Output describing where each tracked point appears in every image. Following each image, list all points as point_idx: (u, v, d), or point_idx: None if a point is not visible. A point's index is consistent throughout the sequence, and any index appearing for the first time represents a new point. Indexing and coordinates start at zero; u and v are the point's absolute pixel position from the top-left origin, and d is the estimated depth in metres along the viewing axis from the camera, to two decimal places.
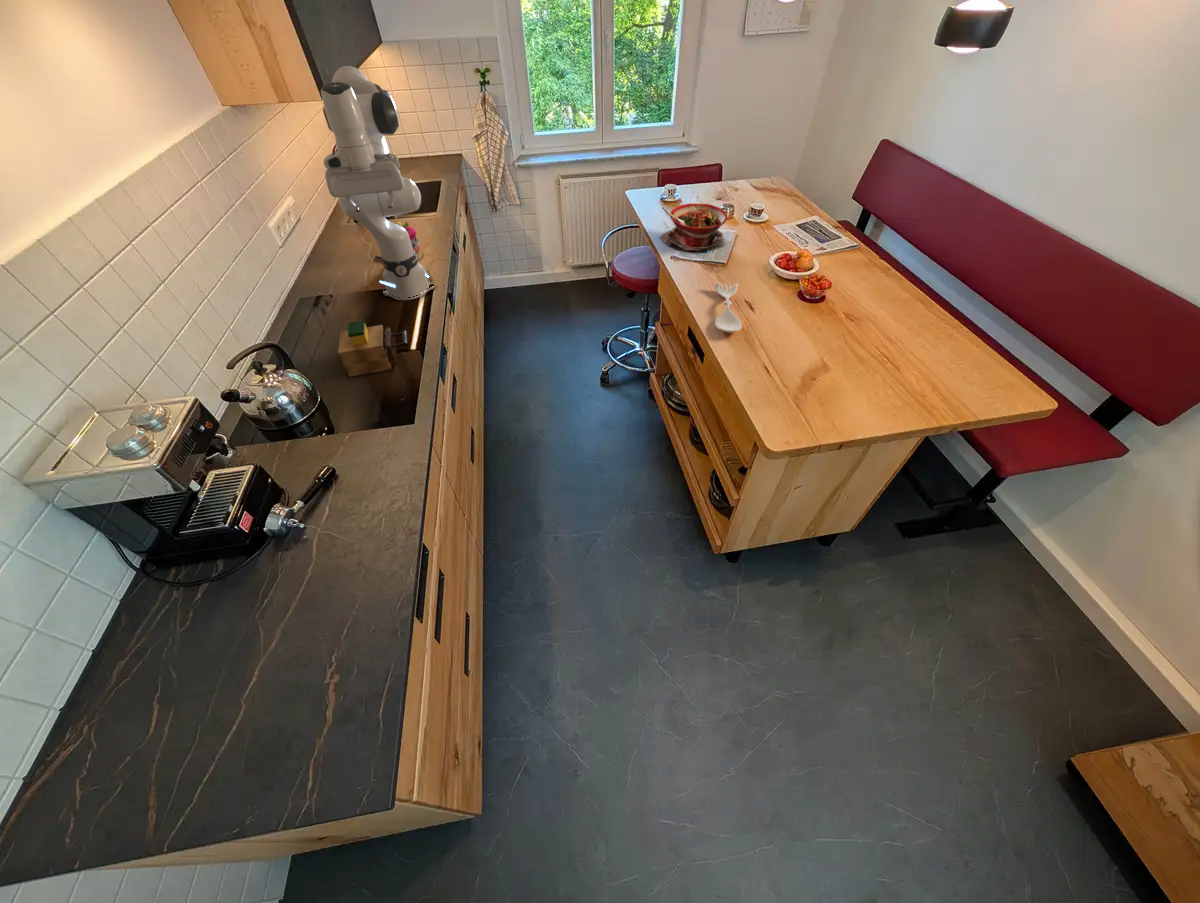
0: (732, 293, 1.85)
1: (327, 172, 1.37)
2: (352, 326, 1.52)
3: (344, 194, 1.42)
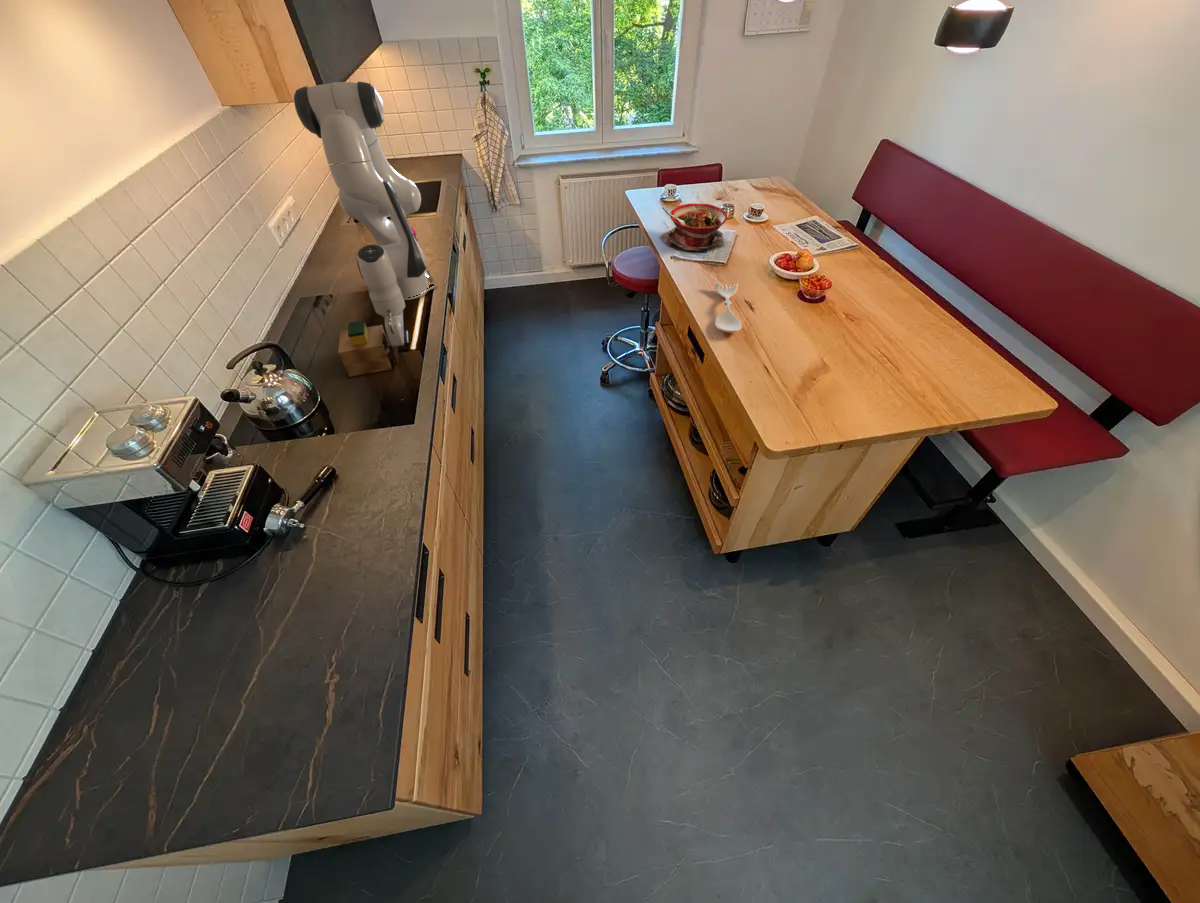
0: (732, 293, 1.85)
1: None
2: (352, 326, 1.52)
3: None
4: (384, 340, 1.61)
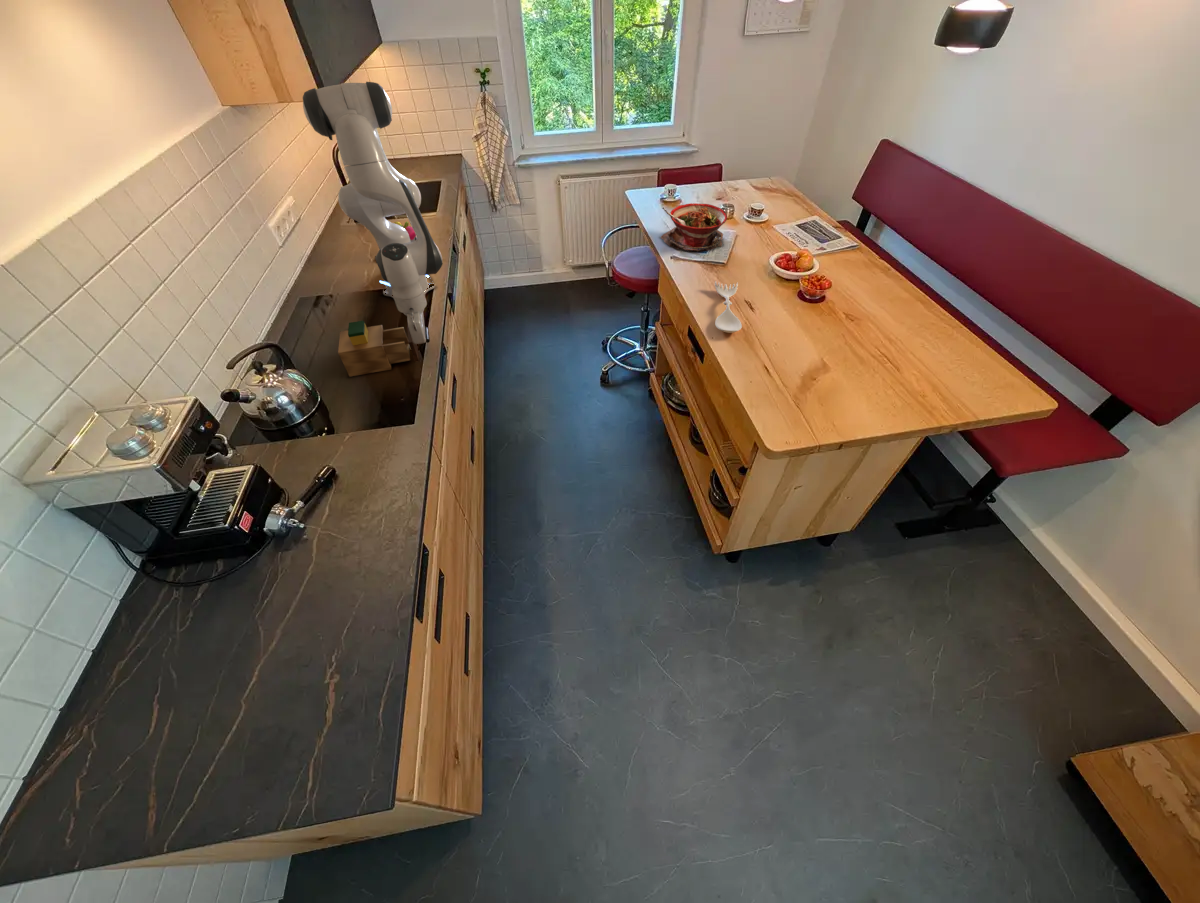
0: (732, 293, 1.85)
1: None
2: (352, 326, 1.52)
3: None
4: (404, 337, 1.62)
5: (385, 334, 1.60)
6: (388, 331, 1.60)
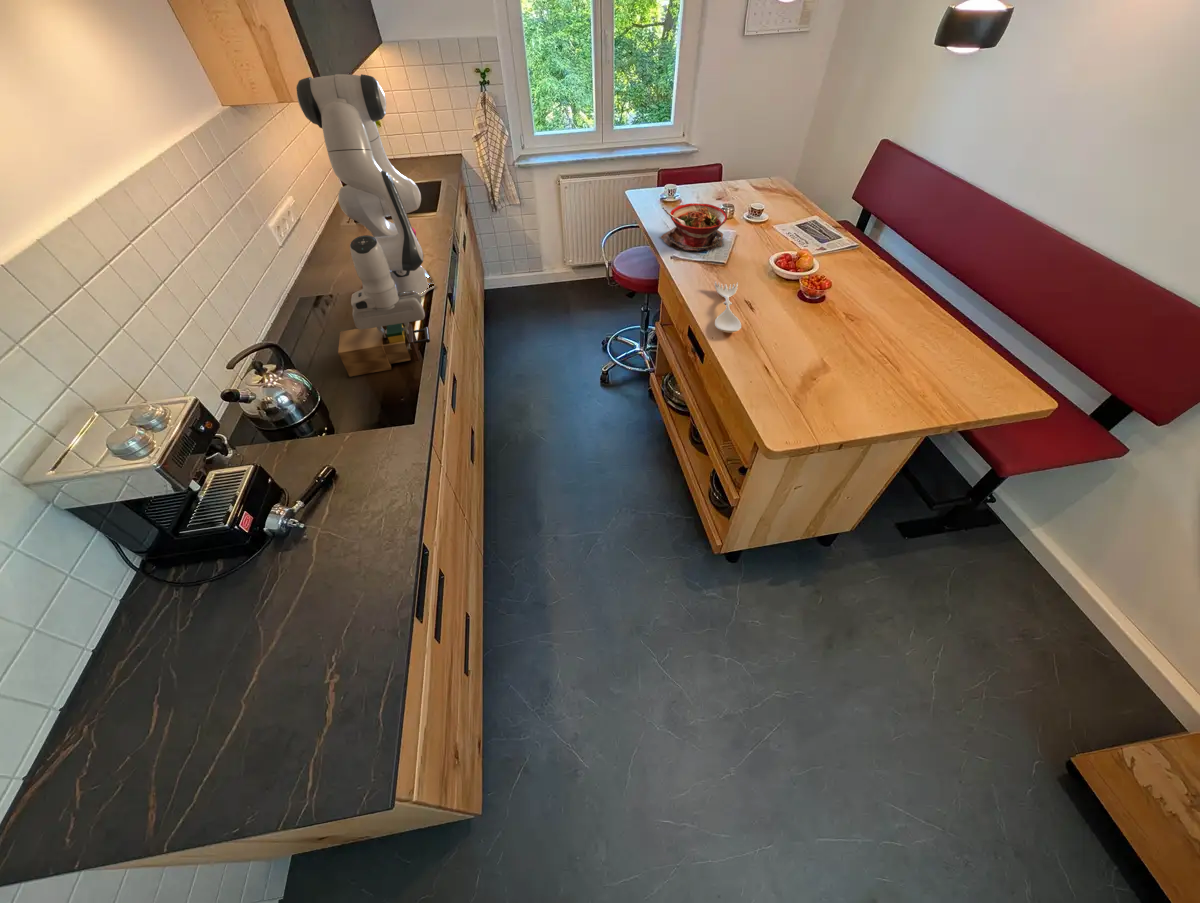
0: (732, 293, 1.85)
1: (354, 312, 1.46)
2: (390, 326, 1.55)
3: (369, 327, 1.51)
4: None
5: None
6: None
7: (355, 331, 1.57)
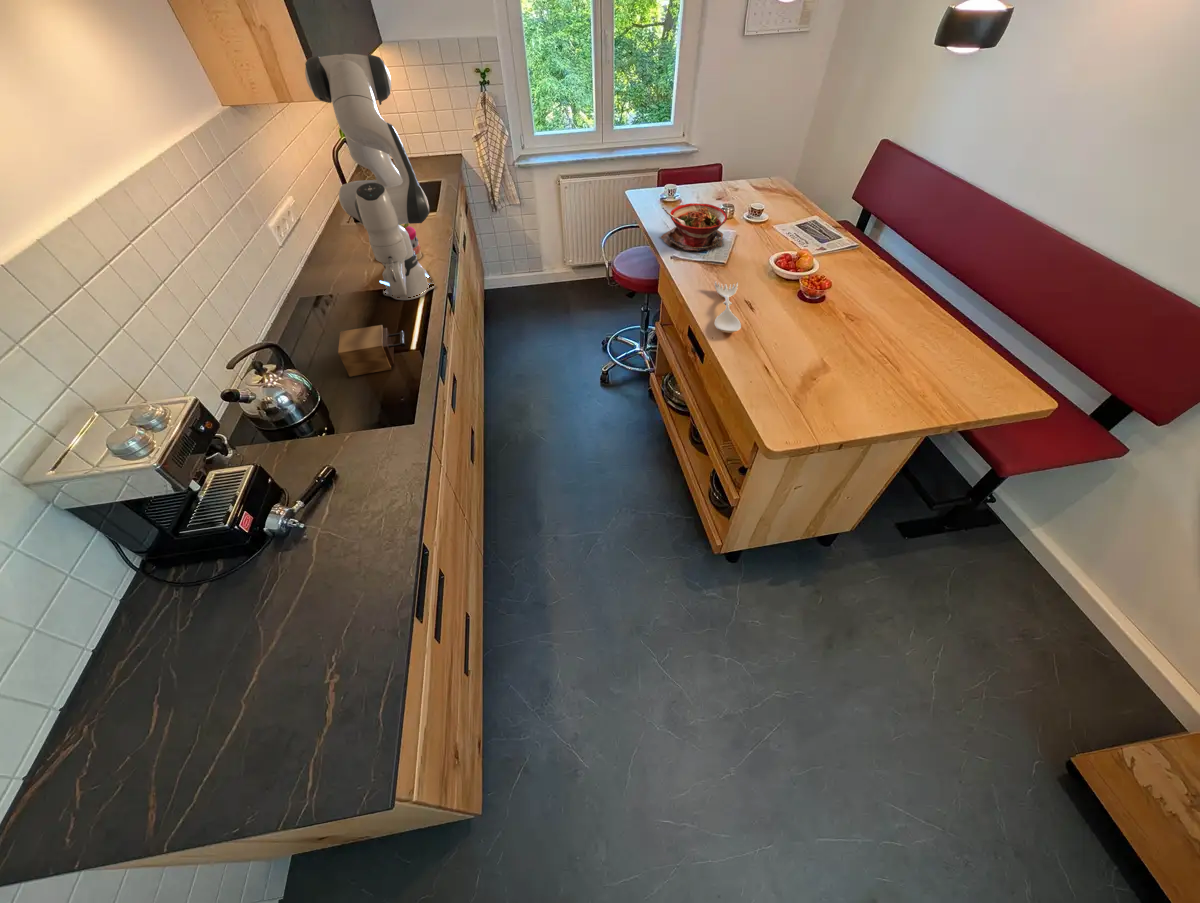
0: (732, 293, 1.85)
1: None
2: None
3: None
4: None
5: None
6: None
7: (355, 331, 1.57)
